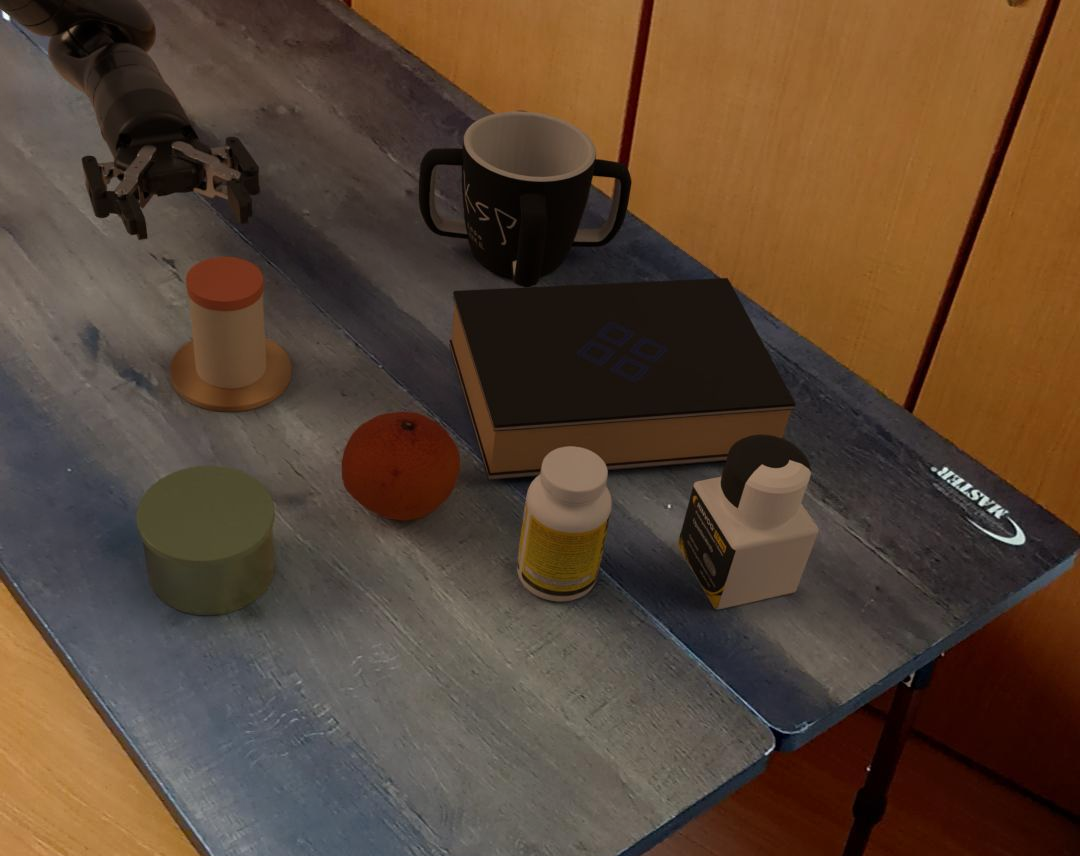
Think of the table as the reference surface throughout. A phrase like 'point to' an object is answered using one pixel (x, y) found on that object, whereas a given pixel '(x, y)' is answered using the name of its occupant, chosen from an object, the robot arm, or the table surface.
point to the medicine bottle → (750, 524)
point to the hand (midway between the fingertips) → (194, 222)
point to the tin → (207, 539)
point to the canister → (227, 321)
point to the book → (613, 373)
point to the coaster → (230, 399)
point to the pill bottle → (565, 525)
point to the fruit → (400, 465)
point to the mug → (524, 193)
